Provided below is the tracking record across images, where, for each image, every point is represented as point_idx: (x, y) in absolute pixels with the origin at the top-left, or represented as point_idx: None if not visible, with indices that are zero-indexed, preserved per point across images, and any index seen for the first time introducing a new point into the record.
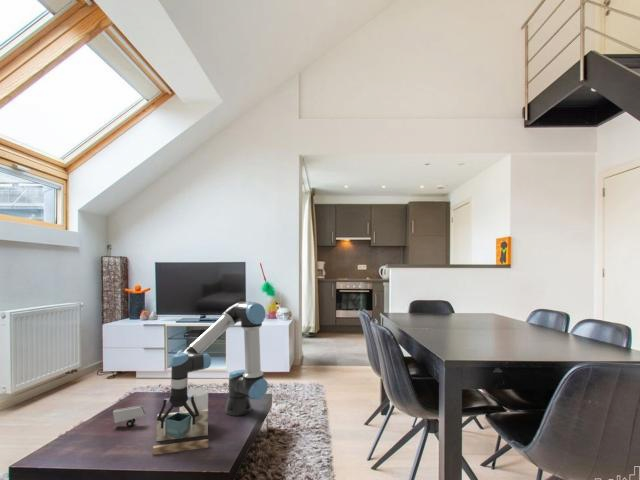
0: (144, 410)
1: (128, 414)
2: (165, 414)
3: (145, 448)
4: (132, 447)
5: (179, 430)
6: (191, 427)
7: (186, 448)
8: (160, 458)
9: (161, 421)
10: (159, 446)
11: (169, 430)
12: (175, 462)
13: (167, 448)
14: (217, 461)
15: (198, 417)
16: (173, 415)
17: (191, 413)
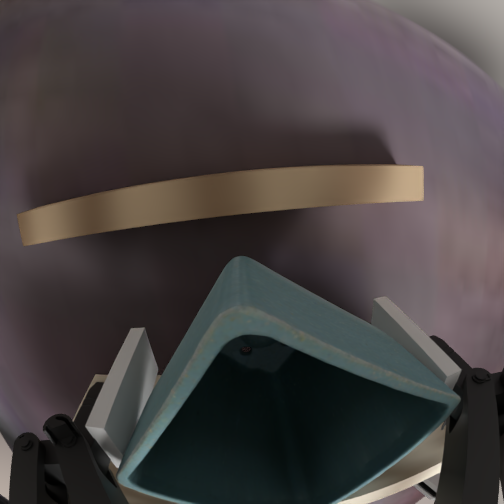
0: (420, 491)
1: None
2: (495, 439)
3: (433, 264)
4: (473, 285)
5: (236, 258)
6: (123, 356)
7: (167, 180)
8: (341, 96)
9: (480, 369)
10: (386, 178)
11: (359, 318)
12: (227, 21)
13: (320, 166)
14: (9, 45)
15: (116, 468)
16: (351, 486)
17: (81, 488)
